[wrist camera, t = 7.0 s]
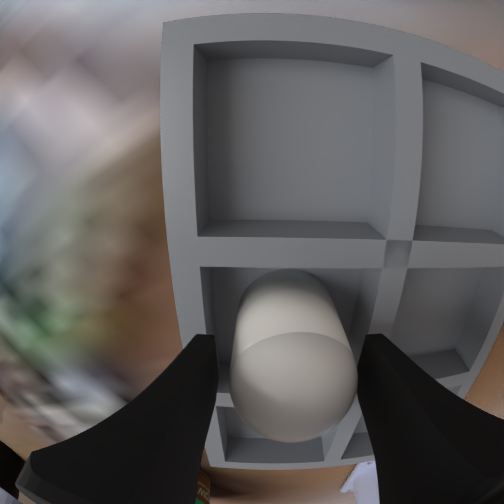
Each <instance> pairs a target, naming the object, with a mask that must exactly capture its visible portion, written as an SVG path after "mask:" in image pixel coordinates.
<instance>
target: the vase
mask: <svg viewBox="0 0 504 504" xmlns="http://www.w3.org/2000/svg"><path fill="white" fill-rule="evenodd" d="M23 467H24V461H23V460H22V459H21V458H20V457H19V456H18V455H17V454H16V453H15V452H14V451H12V450H11V449H10V448H9V447H8V446H7V445H5V444H4V443H3V442H1V441H0V488H2V489H3V490H5V491H6V492H7V493H9V494H10V495H11V496H13V497H14V498H15V499H17V500H18V497H19V490H18V489H17V487H16V485H15V482H16V480H17V478H18V476H19V474H20V473H21V471H22V469H23Z"/></svg>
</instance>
